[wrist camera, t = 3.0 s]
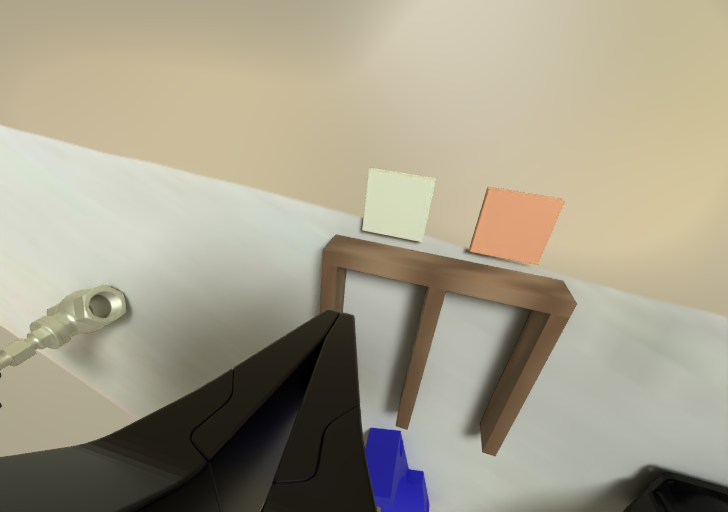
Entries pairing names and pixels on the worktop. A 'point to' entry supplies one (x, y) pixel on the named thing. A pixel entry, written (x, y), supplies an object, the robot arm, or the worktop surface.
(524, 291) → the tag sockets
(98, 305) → the valve
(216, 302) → the worktop surface
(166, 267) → the worktop surface
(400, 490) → the cable clip
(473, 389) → the worktop surface
